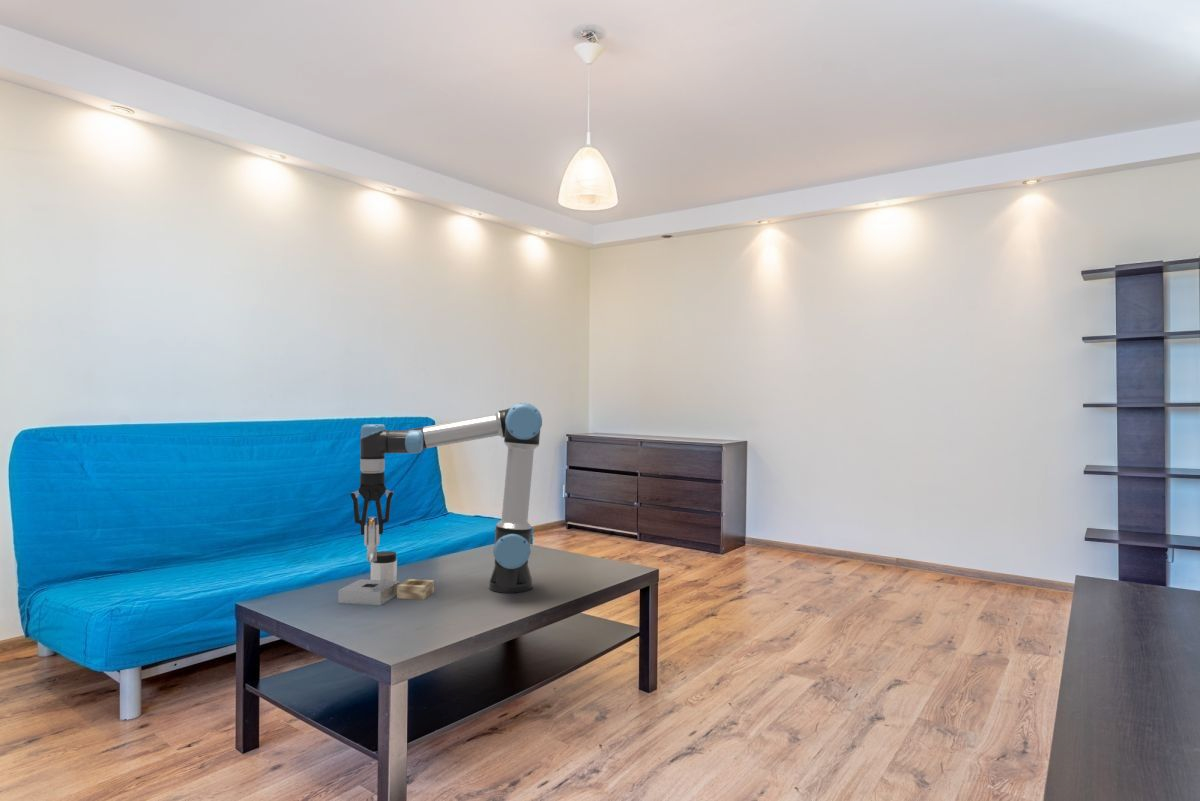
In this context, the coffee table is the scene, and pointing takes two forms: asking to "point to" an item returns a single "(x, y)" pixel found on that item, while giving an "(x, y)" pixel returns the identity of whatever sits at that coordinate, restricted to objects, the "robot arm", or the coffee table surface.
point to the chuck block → (368, 592)
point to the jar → (384, 566)
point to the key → (371, 539)
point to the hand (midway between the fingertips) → (372, 544)
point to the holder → (415, 589)
